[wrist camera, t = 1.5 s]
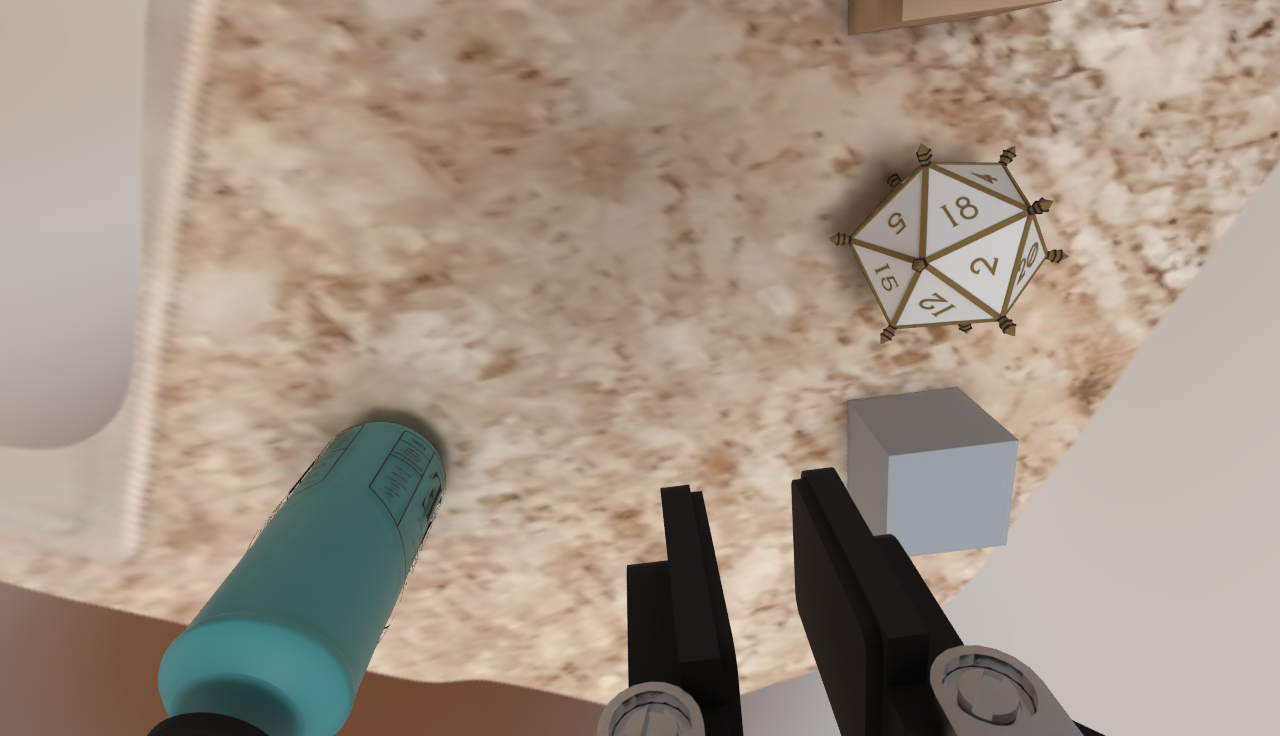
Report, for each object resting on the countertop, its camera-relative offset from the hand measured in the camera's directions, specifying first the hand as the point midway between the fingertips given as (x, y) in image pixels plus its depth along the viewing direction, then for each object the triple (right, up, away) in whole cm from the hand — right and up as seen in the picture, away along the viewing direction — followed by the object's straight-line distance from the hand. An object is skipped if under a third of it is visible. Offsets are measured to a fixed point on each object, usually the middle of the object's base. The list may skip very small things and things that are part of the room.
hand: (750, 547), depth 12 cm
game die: (+11, +10, +20) cm, 25 cm away
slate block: (+13, -1, +25) cm, 28 cm away
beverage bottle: (-15, -2, +24) cm, 29 cm away
